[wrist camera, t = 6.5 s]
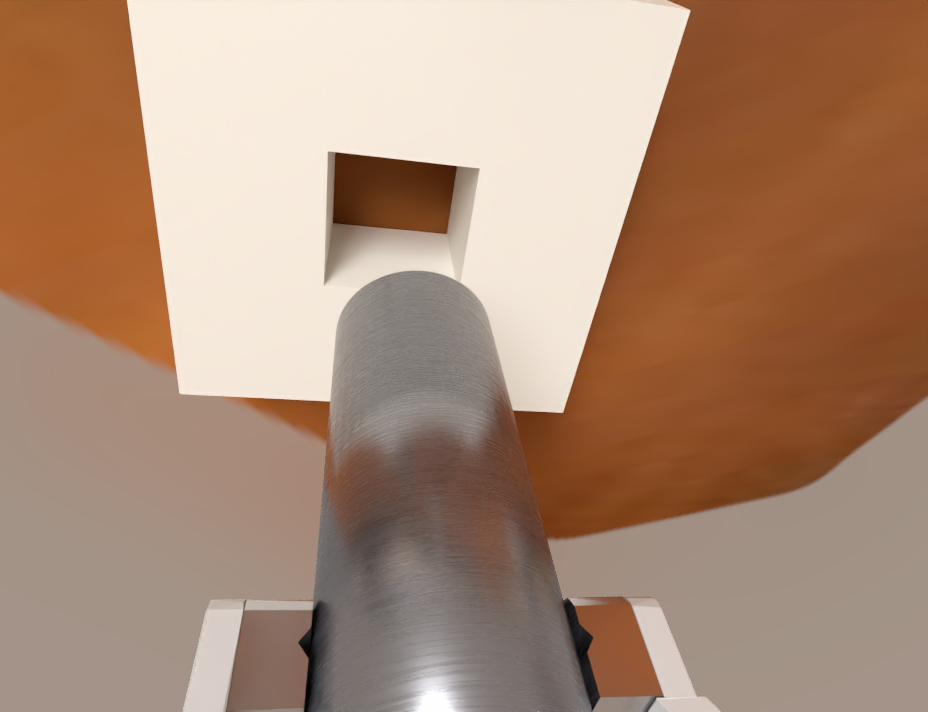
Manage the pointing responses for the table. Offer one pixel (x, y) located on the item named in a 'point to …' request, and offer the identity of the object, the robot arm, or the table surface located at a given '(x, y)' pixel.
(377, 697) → the long pin
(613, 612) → the robot arm
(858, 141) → the table surface
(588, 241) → the hole block
